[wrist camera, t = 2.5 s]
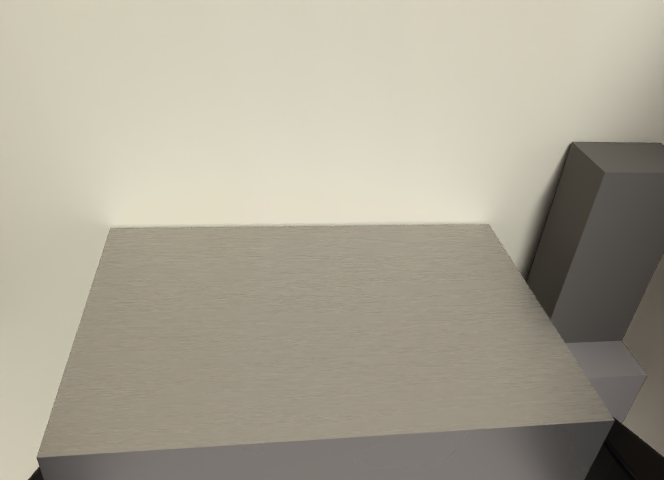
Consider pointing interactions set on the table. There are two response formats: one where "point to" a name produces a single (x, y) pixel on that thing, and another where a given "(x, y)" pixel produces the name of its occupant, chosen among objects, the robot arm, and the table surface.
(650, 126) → the table surface
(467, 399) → the end link
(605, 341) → the grey long bar
